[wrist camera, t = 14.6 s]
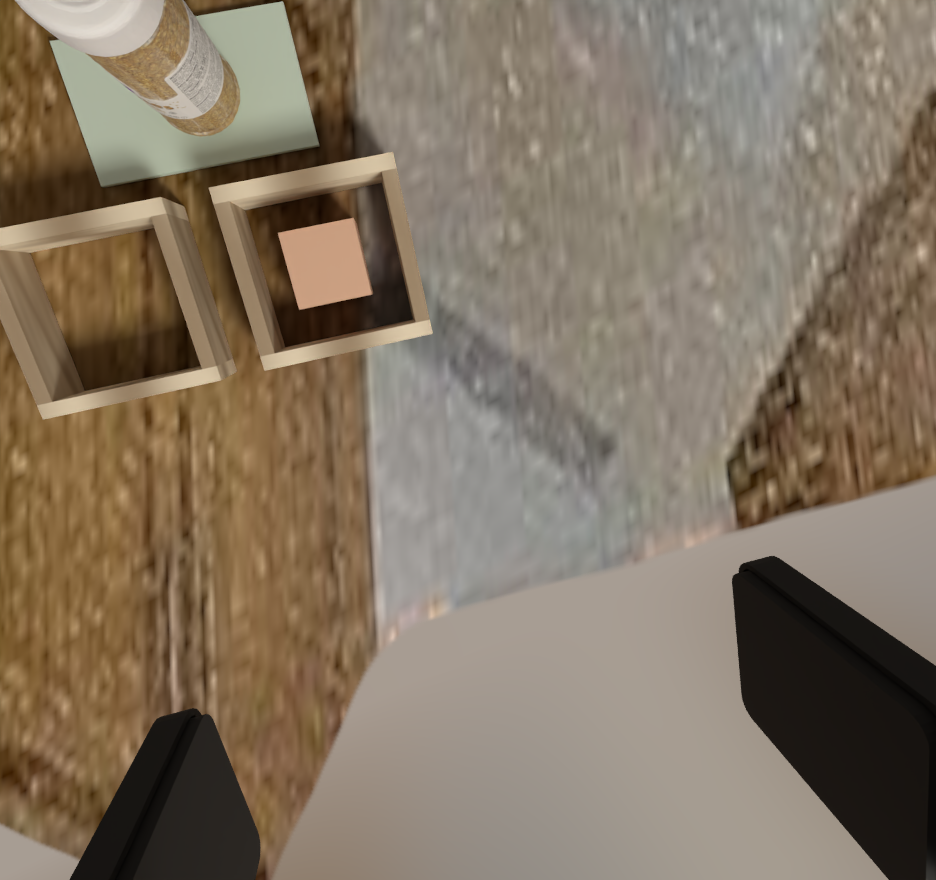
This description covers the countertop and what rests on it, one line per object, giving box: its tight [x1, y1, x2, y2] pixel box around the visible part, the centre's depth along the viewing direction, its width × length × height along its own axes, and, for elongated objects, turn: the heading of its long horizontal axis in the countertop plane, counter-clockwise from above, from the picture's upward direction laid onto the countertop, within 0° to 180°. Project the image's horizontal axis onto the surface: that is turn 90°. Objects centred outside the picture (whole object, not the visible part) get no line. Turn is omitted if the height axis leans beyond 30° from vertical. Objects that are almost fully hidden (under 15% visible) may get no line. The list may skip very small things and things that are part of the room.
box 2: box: [209, 152, 433, 371], centre depth 33 cm, size 10×10×4 cm
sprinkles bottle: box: [15, 0, 240, 137], centre depth 24 cm, size 5×5×13 cm
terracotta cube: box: [278, 218, 373, 310], centre depth 33 cm, size 4×4×4 cm
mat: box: [50, 1, 319, 188], centre depth 31 cm, size 12×7×1 cm, turn 102°
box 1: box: [0, 197, 237, 419], centre depth 32 cm, size 10×10×4 cm
